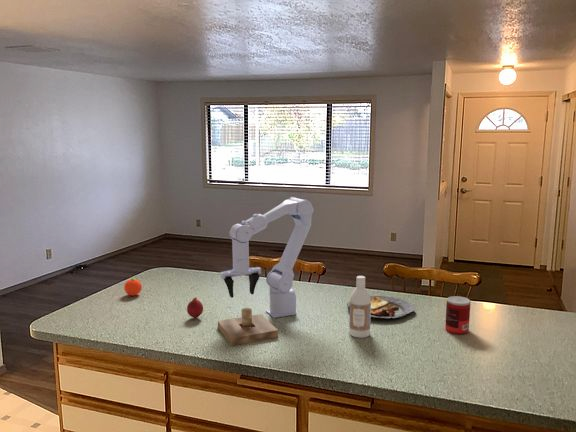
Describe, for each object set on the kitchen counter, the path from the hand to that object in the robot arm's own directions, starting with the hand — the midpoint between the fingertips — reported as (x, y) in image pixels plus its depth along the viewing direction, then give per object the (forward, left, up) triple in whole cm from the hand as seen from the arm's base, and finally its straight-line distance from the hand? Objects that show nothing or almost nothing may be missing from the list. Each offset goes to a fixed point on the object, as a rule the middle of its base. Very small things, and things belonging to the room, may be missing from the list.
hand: (241, 295), depth 179 cm
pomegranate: (+15, -10, -10) cm, 20 cm away
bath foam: (-32, +27, -10) cm, 43 cm away
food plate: (-51, +11, -10) cm, 54 cm away
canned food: (-64, +38, -10) cm, 75 cm away
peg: (+2, +10, -10) cm, 14 cm away
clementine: (+32, -47, -10) cm, 57 cm away
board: (+2, +10, -10) cm, 14 cm away
